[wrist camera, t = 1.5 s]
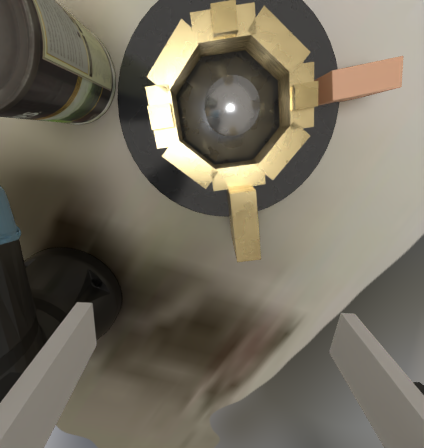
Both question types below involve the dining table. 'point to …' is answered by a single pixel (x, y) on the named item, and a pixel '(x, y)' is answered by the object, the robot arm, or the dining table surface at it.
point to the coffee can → (51, 65)
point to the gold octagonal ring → (287, 93)
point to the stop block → (360, 80)
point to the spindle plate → (196, 104)
